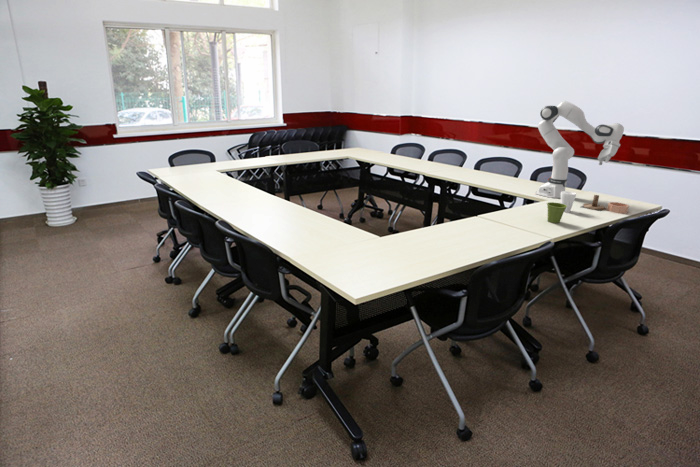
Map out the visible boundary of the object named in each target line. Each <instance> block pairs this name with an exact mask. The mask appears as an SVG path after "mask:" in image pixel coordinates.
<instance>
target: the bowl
mask: <svg viewBox="0 0 700 467" xmlns="http://www.w3.org/2000/svg"><path fill="white" fill-rule="evenodd" d="M629 209H630V205H629V204H627V203H622V202H613V201H612V202H611V201H610V202H609V203H607V207H606V210H607V211H609V212H610V213H615V214H628V212H629Z"/></svg>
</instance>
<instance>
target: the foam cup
mask: <svg viewBox="0 0 700 467" xmlns="http://www.w3.org/2000/svg"><path fill="white" fill-rule="evenodd" d="M576 197H577V193H576V192H575V191H568V190H565V191H562V192H561V198H560V201H559V202H560V203H561V204H564V205H567V207H566V209H565V211H564V213H570V212H571V210H572V208H573V204H574V202H575V199H576Z"/></svg>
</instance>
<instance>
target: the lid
mask: <svg viewBox="0 0 700 467" xmlns="http://www.w3.org/2000/svg"><path fill="white" fill-rule="evenodd" d="M599 197H600V195H599V194H594V195H593V198H592V203H583V205H582V206H583V207H585V208H584V209H586V208H587V210H591V209H592V211H596V210H602V211H605V210H606V209H605V208H606V206H604V205H601V204H598V203H599V199H600V198H599Z"/></svg>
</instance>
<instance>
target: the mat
mask: <svg viewBox="0 0 700 467" xmlns="http://www.w3.org/2000/svg"><path fill="white" fill-rule="evenodd" d="M580 208H582V209H587V208H585V207H583V205H580ZM587 210H588V209H587ZM590 210H592V209H590ZM605 210H607V207H605ZM592 211H593V210H592ZM595 211H596V212H602V211H603V210H595Z"/></svg>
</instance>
